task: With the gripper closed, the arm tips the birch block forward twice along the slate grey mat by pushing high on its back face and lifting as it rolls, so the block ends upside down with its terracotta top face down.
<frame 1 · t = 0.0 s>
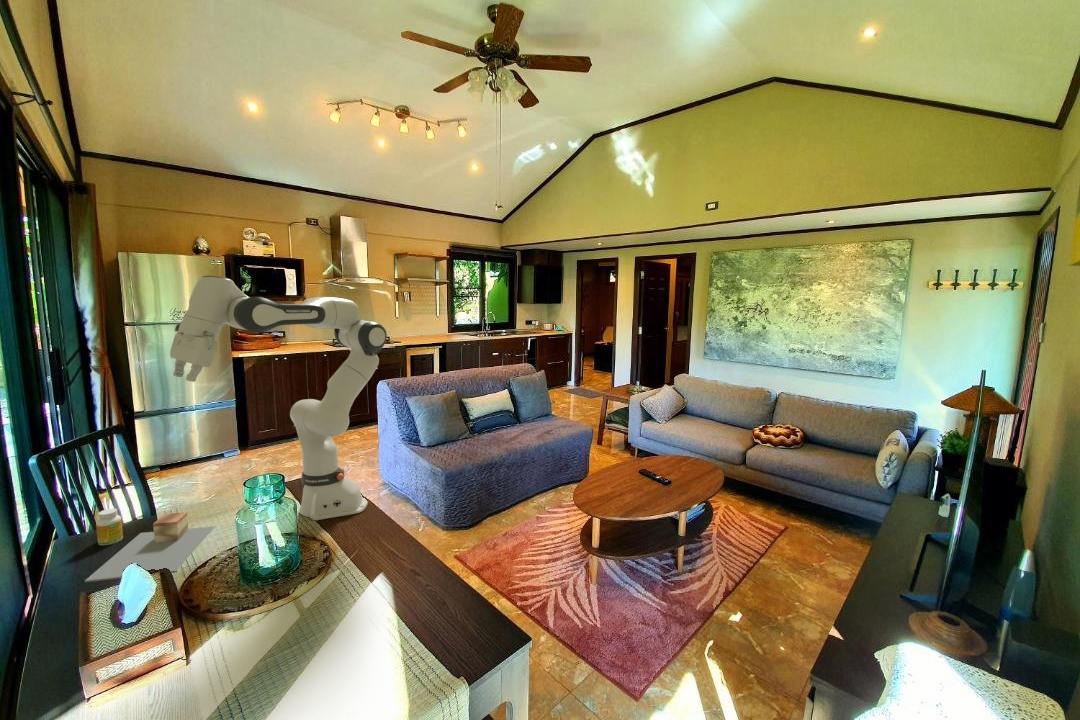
hand: (183, 378, 120), 52 cm above the table, tool tilted 20°, fingers open, 8 cm apart
supplement bottle: (110, 542, 132), on the table
birch block: (172, 536, 135), resting on slate mat
slate mat: (157, 552, 127), on the table
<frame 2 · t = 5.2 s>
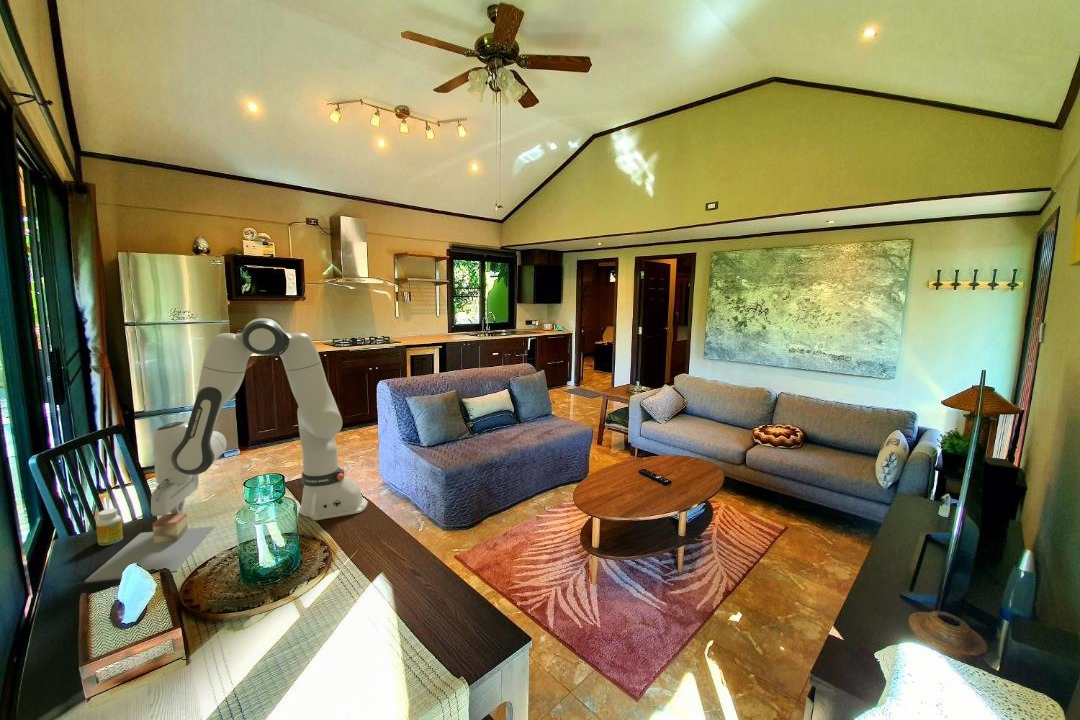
hand: (177, 515, 138), 5 cm above the table, tool pointing down, fingers closed
birch block: (171, 536, 135), point 1 cm above the table, touching gripper, slate mat
everything else where it was.
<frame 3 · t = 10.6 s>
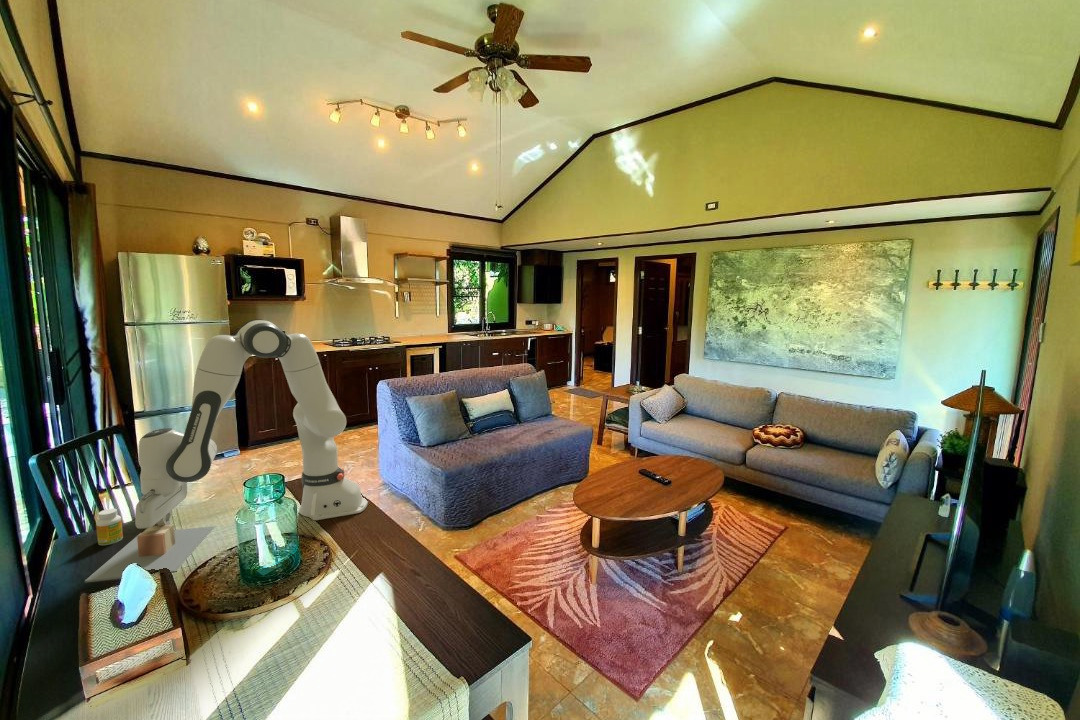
hand: (164, 527, 131), 5 cm above the table, tool pointing down, fingers closed
birch block: (162, 534, 130), point 4 cm above the table, tilted 90°, touching gripper, slate mat
everything else where it was.
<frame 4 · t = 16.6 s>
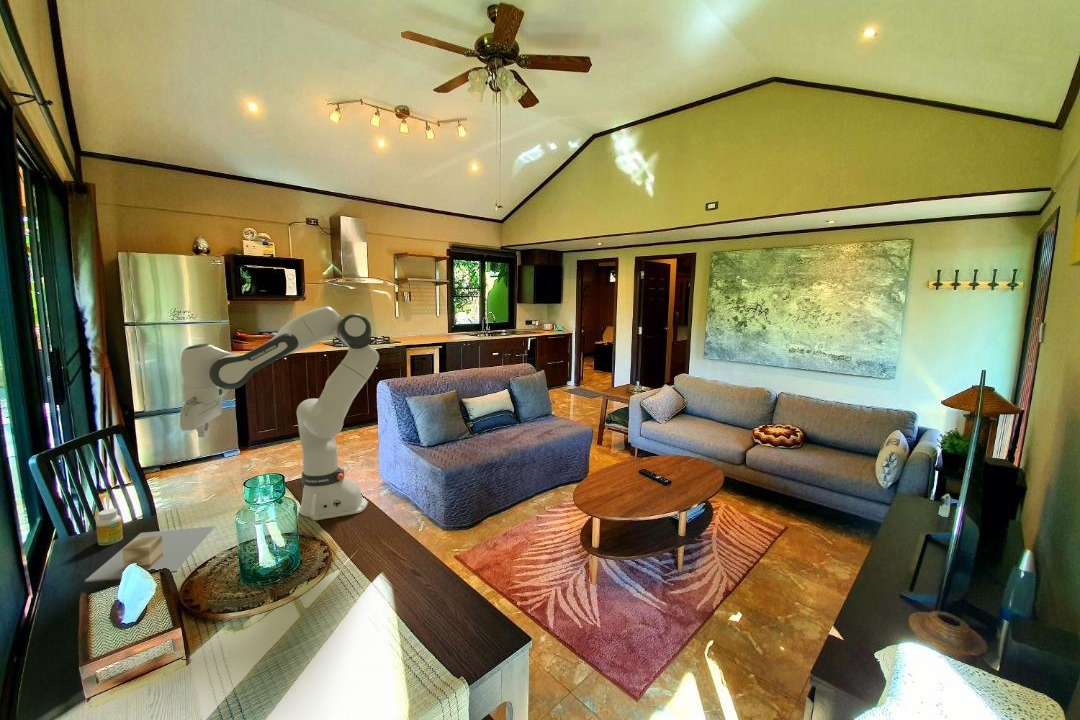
hand: (203, 435, 142), 29 cm above the table, tool pointing down, fingers closed
birch block: (142, 542, 121), point 6 cm above the table, tilted 180°, touching slate mat
everything else where it was.
at the end: birch block tilted 180°; birch block inside the target area (3.0 cm from its centre), point 6.5 cm above the table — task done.
